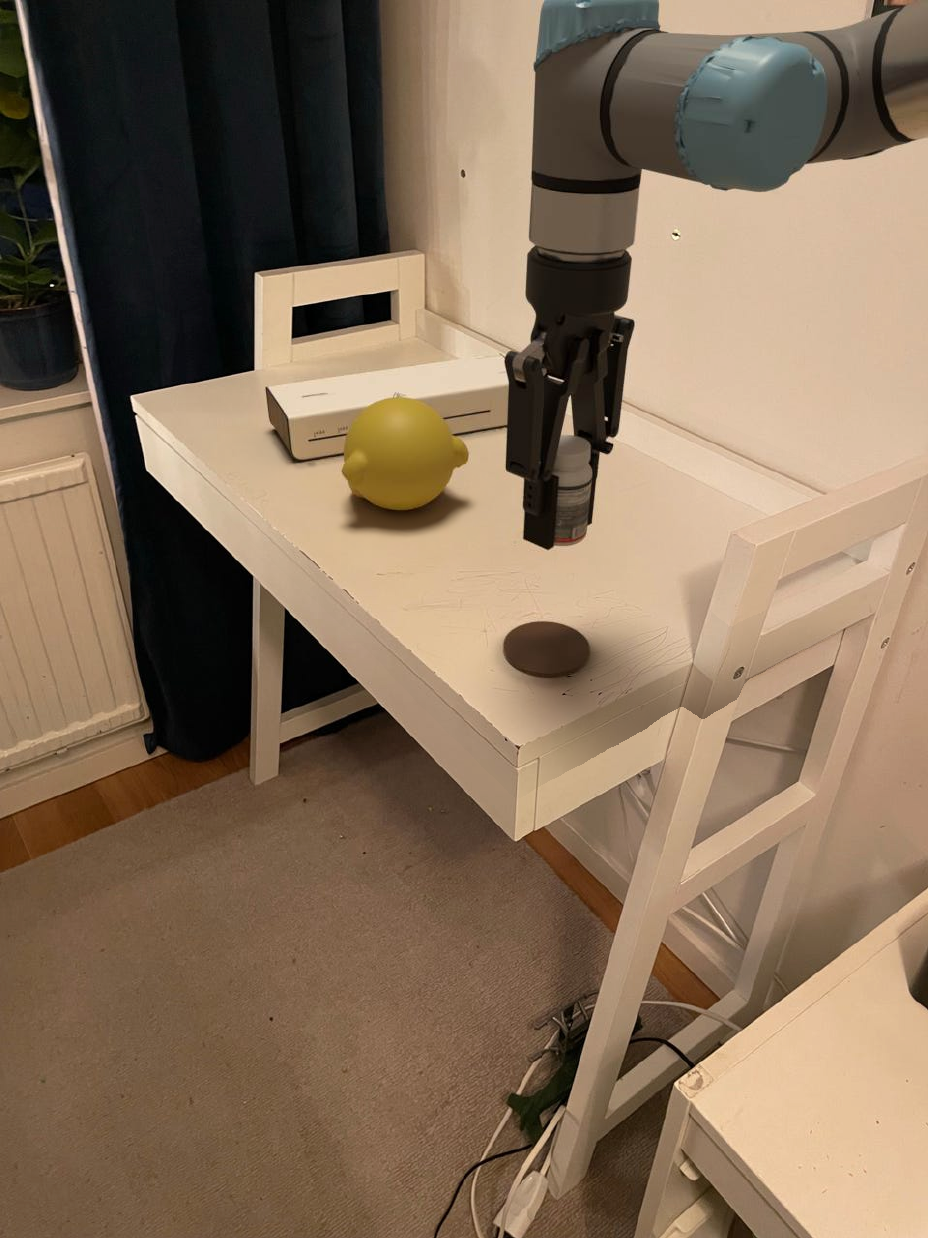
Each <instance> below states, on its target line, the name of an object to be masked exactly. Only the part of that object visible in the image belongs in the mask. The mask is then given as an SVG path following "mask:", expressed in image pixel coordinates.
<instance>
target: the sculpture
mask: <svg viewBox="0 0 928 1238" xmlns="http://www.w3.org/2000/svg"><path fill="white" fill-rule="evenodd" d="M469 455H470V452H469V449H468V447H467V445H466V443H465V442H464V441H463V440H462V439H461V438H460V437H458V436H457V435H454V436H453V435H452V433H451V431H450V429H449V427H448V425H447V423H446V422H445V420H444V419H443V418H442V417H441V416H440V415H439V414H438V413H437V412H436V411H435V410H434V409H433V408H431V407H430V406H428V405H427V404H425V403H423V402H421V401H418V400H415V399H412V398H405V397H393V398H387V399H383V400H380V401H377V402H375V403H373V404H372V405H370V406H368V407H367V408H366V409H364V410H363V411H362V412H361V413H360V414H359V415H358V416H357V417H356V419H355V420H354V421H353V423H352V425H351V427H350V428H349V431H348V433H347V436H346V440H345V445H344V454H343V461H344V463H343V465H342V468H341V474H342V476H343V477H344V478H345V480H347V484H348V487H349V489H350V491H351V493H353V494H354V495H355V496H356V497H359V498H361V499H362V498H363V499H366V500H367V501H368V502H370V503H372V504H374V505H375V506H378V507H380V508H383V509H386V510H393V511H409V510H414V509H418V508H421V507H423V506H425V505H427V504H429V503H431V502H432V501H433V500H434V499H436V498H437V497H438V496H439V495H440V494H441V493H442V492H443V491H444V490H445V488H446V487H447V486H448V484H449V482H450V481H451V478H452V476H453V474H454V470H456V469H457V468H458V469H459V468H461V467H462V466H464V465H466V464H467V463H468V461H469Z"/></svg>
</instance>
